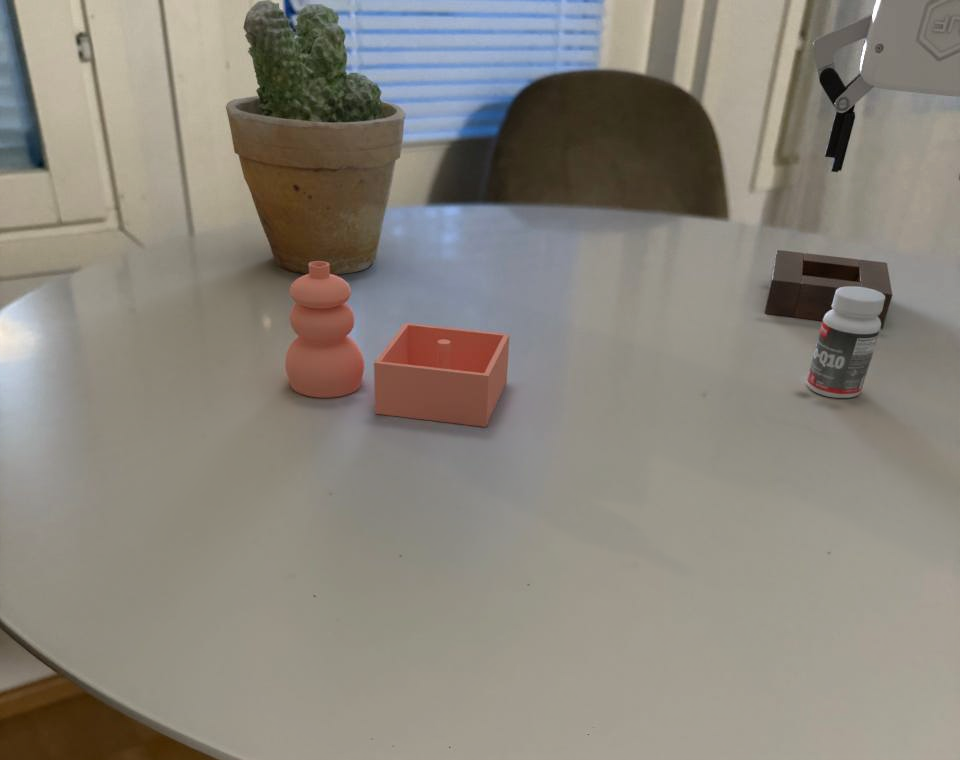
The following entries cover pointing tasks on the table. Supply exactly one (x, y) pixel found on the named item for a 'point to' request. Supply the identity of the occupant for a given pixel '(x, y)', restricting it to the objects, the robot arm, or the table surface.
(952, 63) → the robot arm
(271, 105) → the potted plant
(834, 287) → the holder
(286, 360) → the pottery
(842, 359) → the pill bottle
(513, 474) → the table surface
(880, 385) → the table surface
